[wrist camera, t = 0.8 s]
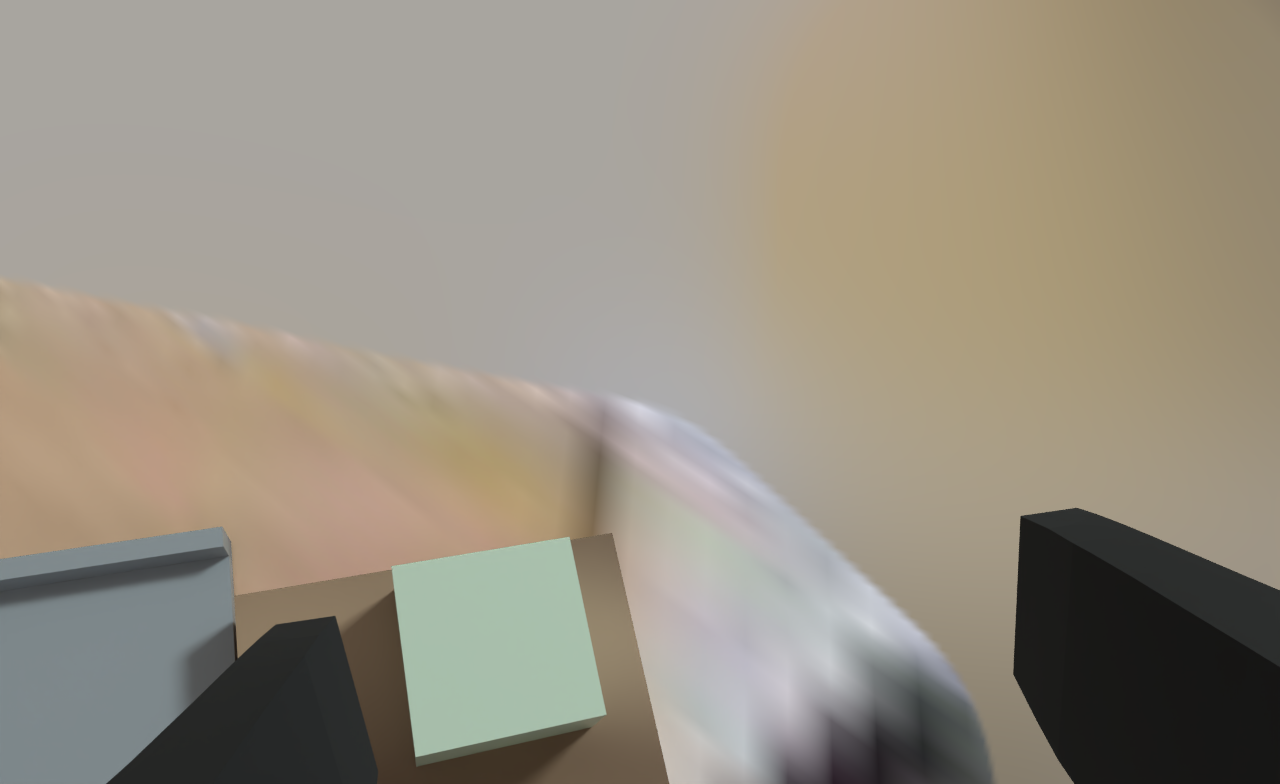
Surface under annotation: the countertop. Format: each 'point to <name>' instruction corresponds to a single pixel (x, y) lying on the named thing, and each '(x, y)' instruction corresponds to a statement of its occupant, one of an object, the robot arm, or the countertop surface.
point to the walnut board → (504, 777)
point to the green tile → (495, 649)
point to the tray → (108, 650)
